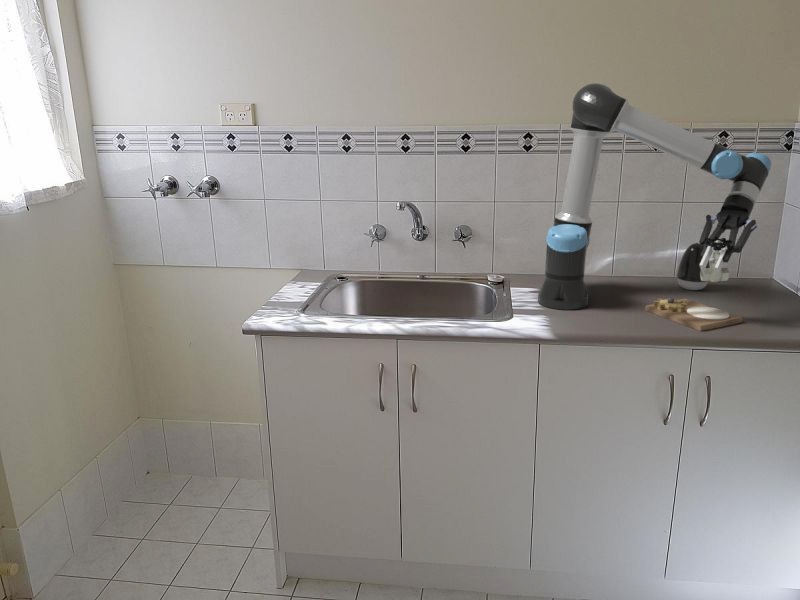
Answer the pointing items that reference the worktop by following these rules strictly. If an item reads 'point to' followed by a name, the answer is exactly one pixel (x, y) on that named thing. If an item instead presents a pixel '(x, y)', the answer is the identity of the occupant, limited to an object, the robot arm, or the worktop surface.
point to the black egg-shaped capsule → (691, 268)
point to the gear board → (692, 314)
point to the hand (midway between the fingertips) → (709, 269)
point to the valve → (715, 261)
